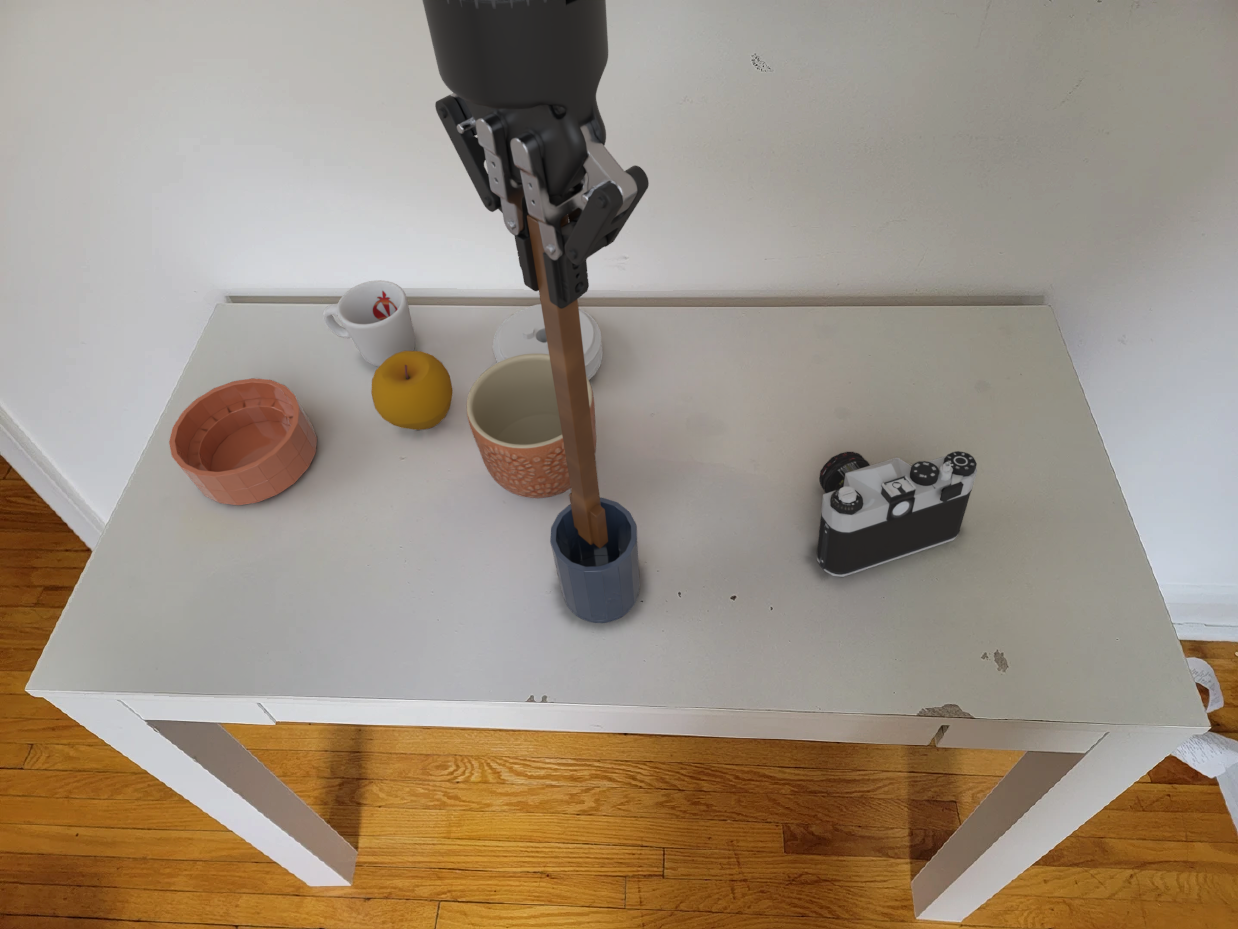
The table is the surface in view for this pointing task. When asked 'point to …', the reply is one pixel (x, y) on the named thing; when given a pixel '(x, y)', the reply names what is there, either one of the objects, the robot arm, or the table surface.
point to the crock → (598, 565)
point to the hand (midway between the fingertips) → (556, 289)
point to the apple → (412, 390)
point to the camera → (889, 508)
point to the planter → (521, 426)
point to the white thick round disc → (544, 337)
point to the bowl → (244, 441)
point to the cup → (374, 320)
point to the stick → (571, 400)
